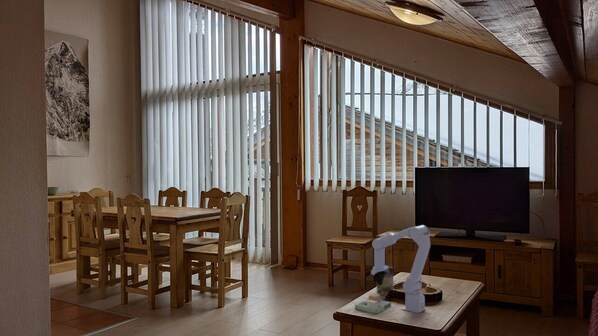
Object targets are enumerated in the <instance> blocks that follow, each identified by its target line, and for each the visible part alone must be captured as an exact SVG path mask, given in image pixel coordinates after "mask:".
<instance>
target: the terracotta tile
mask: <svg viewBox="0 0 598 336" xmlns="http://www.w3.org/2000/svg"><path fill="white" fill-rule="evenodd" d="M368 300H374V301H380V300H381V296H380V295H378V294H377V293H371V294H368Z"/></svg>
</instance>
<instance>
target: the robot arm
mask: <svg viewBox="0 0 598 336" xmlns="http://www.w3.org/2000/svg"><path fill="white" fill-rule="evenodd" d="M430 234H431V232H430V230H429V228H428V226H426V225H424V224H421V225H417V226H416V225H415V226H412V227H408V228H405V229H403V230H401V231H398V232H396V233H393V232H387V233H386V234H385V235H384V236H383V235H380V236H379V237H378V238H374V239H373V240H372V243H371V246H372V248H373V251H374V253H373V256H374V257H373V258H374V259H373V261H374V262H373V263H374V264H373V265H374V266H373V267H372V270H370V275H373V276H374V277H375V280H376V286H377V285H380V286H381V285H382V283H383V279H384V276H385V274H386V272H384V270H388V266H389V265H386V263H385V262H386V256H385V255H386V252H385V251H386V247H390V246H391V245H394V244H396V243H397V241H398V240H399V239H402V238H405V237H407V238H411V239H412V240H413V241H414V243H416V244H417V246H418V249H417V252H416V255H415V258H414V261H413V264H412V267H411V269H410V270H411V271H410V274H409V275H408V276H407V278H406V280H405V281H404V282H403V283H402V290H403V291H404V294H405V295H404V296H405V298H404V300H405V301H404V303H405V304H404V307H402V308H401V310H403V311H407V312H412V313H415V314H420V313H422V312H424V311H426V302H425V301H426V298H425V295H424V294H422V293H420V290H421V289H422V287H423V284H422V280H423V278H422V273H423V271H424V268H425V264H426V261H427V258H428V256H429V252H430V249H431V238H430Z"/></svg>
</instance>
